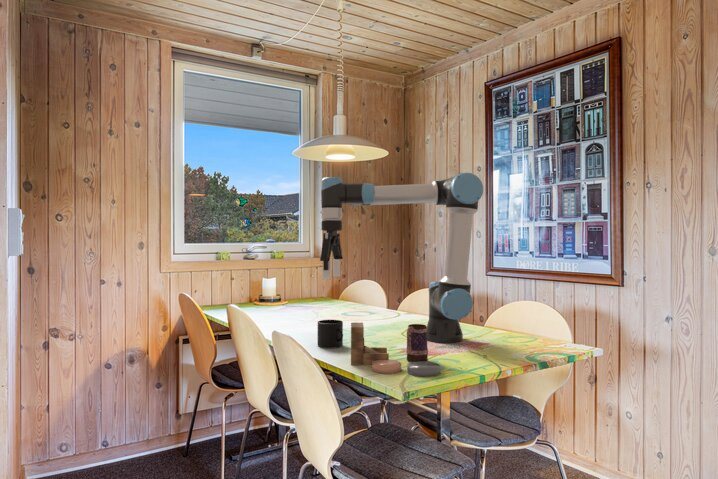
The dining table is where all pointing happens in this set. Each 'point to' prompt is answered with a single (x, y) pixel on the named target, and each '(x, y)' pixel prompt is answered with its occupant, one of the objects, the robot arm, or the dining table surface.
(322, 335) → the mug
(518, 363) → the dining table surface
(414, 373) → the stand slate
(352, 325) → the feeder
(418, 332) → the mug
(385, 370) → the pink disc
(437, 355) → the dining table surface
